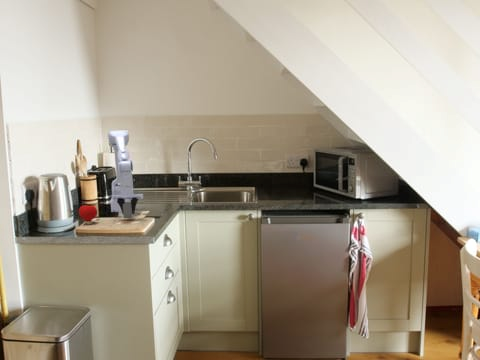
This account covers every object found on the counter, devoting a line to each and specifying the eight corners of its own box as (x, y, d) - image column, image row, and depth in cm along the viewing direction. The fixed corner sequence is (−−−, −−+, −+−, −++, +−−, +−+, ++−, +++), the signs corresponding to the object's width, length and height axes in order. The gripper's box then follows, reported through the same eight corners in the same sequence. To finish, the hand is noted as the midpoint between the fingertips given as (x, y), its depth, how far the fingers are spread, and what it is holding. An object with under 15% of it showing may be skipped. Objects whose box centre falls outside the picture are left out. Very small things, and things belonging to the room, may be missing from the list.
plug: (123, 218, 209) (122, 203, 208) (125, 216, 213) (124, 202, 212) (132, 218, 209) (131, 203, 208) (134, 216, 213) (133, 201, 212)
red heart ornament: (76, 227, 206) (74, 206, 205) (86, 224, 213) (84, 203, 211) (92, 228, 203) (90, 207, 201) (102, 225, 209) (100, 204, 208)
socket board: (112, 227, 205) (112, 223, 204) (127, 214, 230) (126, 211, 230) (138, 226, 205) (138, 222, 204) (150, 213, 230) (149, 210, 230)
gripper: (108, 187, 205) (111, 216, 207) (140, 186, 205) (141, 215, 207) (113, 185, 212) (115, 212, 214) (143, 184, 212) (145, 211, 214)
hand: (128, 213), depth 211 cm, fingers closed on plug, 4 cm apart
